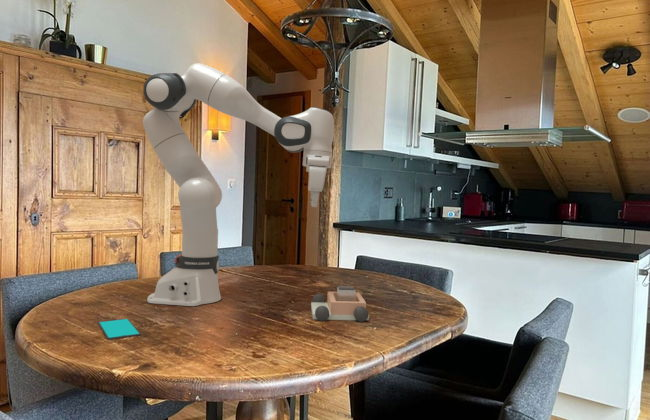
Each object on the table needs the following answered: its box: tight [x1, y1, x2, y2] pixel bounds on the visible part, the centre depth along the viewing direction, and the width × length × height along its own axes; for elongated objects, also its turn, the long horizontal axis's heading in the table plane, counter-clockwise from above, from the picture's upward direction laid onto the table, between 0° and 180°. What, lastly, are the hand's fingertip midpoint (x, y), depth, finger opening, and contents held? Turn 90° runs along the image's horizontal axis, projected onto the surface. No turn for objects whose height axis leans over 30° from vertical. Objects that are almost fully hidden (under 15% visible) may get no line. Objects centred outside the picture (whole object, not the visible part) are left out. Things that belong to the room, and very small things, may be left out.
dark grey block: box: [336, 285, 357, 302], centre depth 139 cm, size 5×4×6 cm
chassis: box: [310, 291, 370, 323], centre depth 139 cm, size 16×17×5 cm
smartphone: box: [97, 318, 141, 341], centre depth 115 cm, size 7×1×15 cm
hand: (313, 206), depth 143 cm, fingers open, 8 cm apart
